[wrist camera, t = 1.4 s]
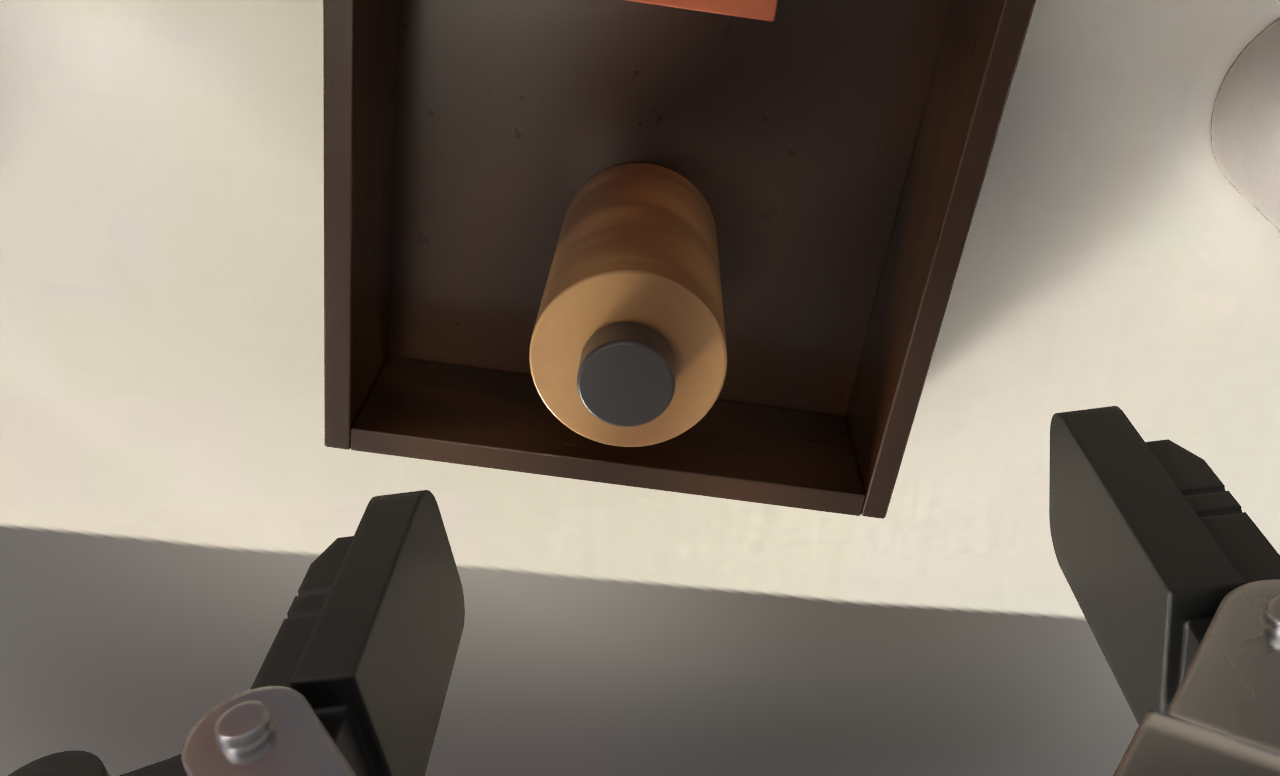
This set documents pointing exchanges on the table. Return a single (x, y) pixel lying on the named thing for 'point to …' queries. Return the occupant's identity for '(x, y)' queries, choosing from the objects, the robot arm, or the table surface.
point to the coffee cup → (1252, 124)
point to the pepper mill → (632, 310)
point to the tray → (699, 151)
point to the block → (725, 7)
